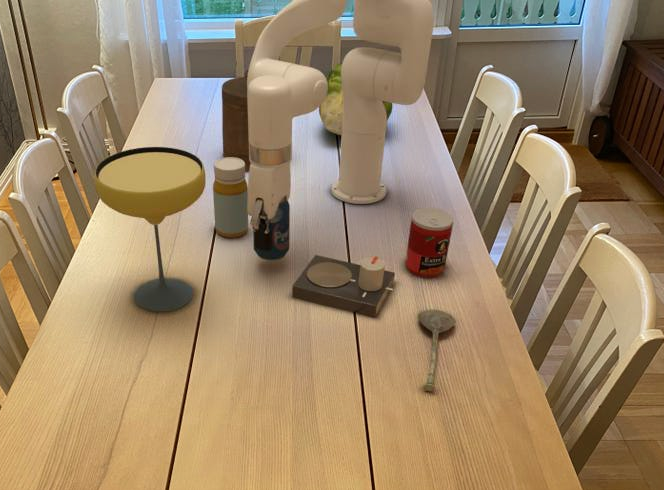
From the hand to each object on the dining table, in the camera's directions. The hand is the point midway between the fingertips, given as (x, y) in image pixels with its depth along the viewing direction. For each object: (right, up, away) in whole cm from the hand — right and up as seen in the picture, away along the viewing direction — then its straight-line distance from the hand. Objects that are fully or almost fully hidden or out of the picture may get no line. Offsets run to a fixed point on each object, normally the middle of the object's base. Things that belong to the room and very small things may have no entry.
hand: (271, 238), depth 137 cm
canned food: (+30, -5, +4) cm, 31 cm away
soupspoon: (+27, -22, -17) cm, 39 cm away
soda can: (0, -3, +2) cm, 3 cm away
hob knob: (+18, -9, -6) cm, 21 cm away
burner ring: (+11, -7, -4) cm, 14 cm away
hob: (+14, -10, -3) cm, 17 cm away
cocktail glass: (-20, -11, -4) cm, 23 cm away
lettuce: (+22, +37, +55) cm, 70 cm away
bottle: (-8, +4, +15) cm, 17 cm away
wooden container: (-5, +27, +43) cm, 51 cm away
